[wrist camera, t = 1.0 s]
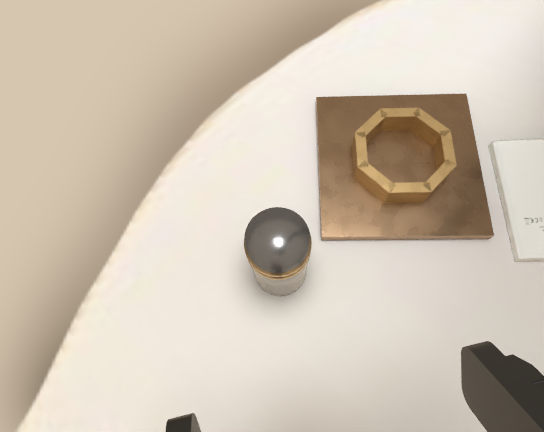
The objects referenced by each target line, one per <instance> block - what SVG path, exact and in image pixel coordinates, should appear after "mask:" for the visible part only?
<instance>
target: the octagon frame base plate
mask: <svg viewBox="0 0 544 432" xmlns="http://www.w3.org/2000/svg"><path fill="white" fill-rule="evenodd" d="M316 115H317V140H318V165H319V190H320V215H321V240H403V239H490V238H491V237H492V236H494V234H493V228H492V223H491V218H490V213H489V208H488V203H487V198H486V192H485V187H484V182H483V177H482V172H481V167H480V162H479V156H478V151H477V146H476V141H475V136H474V131H473V126H472V121H471V115H470V110H469V105H468V100H467V95H466V94H434V95H389V96H344V97H316Z"/></svg>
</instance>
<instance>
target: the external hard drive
mask: <svg viewBox="0 0 544 432" xmlns="http://www.w3.org/2000/svg"><path fill="white" fill-rule="evenodd" d="M489 151H490V155H491V160H492V164H493V168H494V173H495V177H496V182H497V186H498V190H499V194H500V199H501V203H502V208H503V212H504V216H505V221H506V225H507V229H508V234H509V238H510V243H511V247H512V252H513V256H514V260H515V261H544V139H533V140H504V141H493V142H492V143H491V144H490V145H489Z"/></svg>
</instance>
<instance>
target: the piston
mask: <svg viewBox="0 0 544 432" xmlns="http://www.w3.org/2000/svg"><path fill="white" fill-rule="evenodd" d="M244 248H245V253H246V256H247V258H248V261H249V263H250V265H251V266H252V268H253V270H254V273H255V276H256V279H257V281H258V283H259V285H260V286H261V287H262V289H264V290H265V291H266V292H268V293H270V294H272V295H276V296H285V295H289V294H291V293H293V292H295V291H296V290H297V289H299V287H300V286H301V285H302V283H303V281H304V279H305V275H306V267H307V262H308V260H309V257H310V252H311V236H310V232H309V229H308V226H307V224H306V223H305V221H304V220H303V218H302V217H301V216H300V215H298V214H297V213H295V212H294V211H292V210H289V209H286V208H279V207H276V208H269V209H266V210H263V211H261V212H260V213H258V214H257V215H256V216H254V217H253V219H252V220H251V221H250V222H249V224H248V226H247V228H246V232H245V238H244Z"/></svg>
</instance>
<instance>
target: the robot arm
mask: <svg viewBox="0 0 544 432" xmlns="http://www.w3.org/2000/svg"><path fill="white" fill-rule="evenodd" d="M461 370H462V391H463V394H464V397H465V400H466V402H467V404H468V406H469V408H470V409H471V410H472V412H473V413H474V414H475V416H476V417H477V418H478V420H479V421H480V422H481V424H482V425H483V426H484V428H485V429H486V430H487V432H544V376H543V375H542V374H541V373H540V372H539V371H538V370H537V369H536V368H535V367H534V366H533V365H531V364H530V363H528V362H526V361H524V360H522V359H520V358H518V357H516V356H514V355H509V356H504V355H503V354H502V353H501V352H500V351H499V350H498V349H497V348H496V347H495V346H494V345H493V344H492V343H491V342H489V341H486V342H482V343H478V344H474V345H470V346H466V347H463V348H462V351H461ZM166 432H201V431H200V427H199V424H198V421H197V418H196V416H195V414H194V413H192V414H188V415H184V416H180V417H176V418H172V419H168V421H167V424H166Z"/></svg>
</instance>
